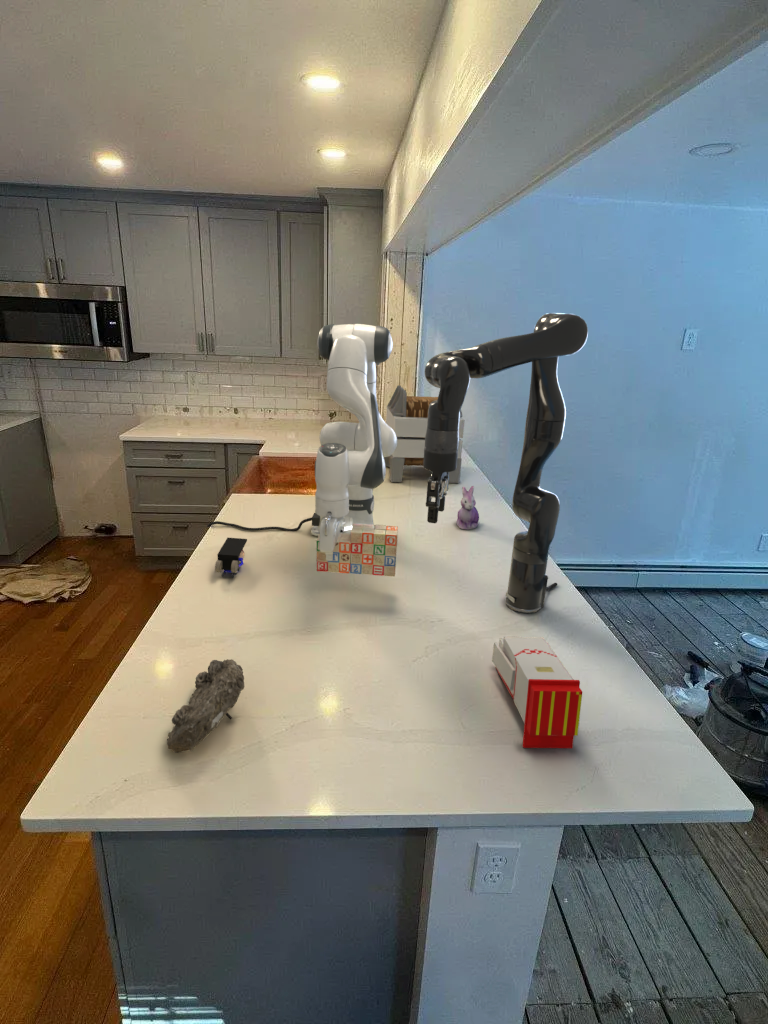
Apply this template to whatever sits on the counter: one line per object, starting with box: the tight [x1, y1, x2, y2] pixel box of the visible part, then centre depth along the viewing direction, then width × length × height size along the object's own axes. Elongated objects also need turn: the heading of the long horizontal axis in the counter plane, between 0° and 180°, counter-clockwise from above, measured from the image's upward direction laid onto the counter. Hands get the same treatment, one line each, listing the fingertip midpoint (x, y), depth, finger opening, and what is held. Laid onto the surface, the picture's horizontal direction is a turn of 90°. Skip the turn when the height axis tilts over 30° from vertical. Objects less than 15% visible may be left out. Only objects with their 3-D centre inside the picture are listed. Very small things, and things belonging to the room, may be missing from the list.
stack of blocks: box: [315, 524, 399, 577], centre depth 153 cm, size 21×6×12 cm, turn 87°
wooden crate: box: [384, 384, 465, 484], centre depth 268 cm, size 34×33×41 cm
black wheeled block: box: [214, 537, 248, 578], centre depth 166 cm, size 7×8×15 cm
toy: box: [491, 636, 583, 749], centre depth 115 cm, size 12×13×30 cm
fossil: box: [166, 658, 245, 754], centre depth 106 cm, size 22×10×15 cm
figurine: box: [456, 485, 480, 530], centre depth 208 cm, size 9×10×15 cm
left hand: (331, 553), depth 154 cm, fingers closed on stack of blocks, 6 cm apart
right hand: (435, 516), depth 131 cm, fingers open, 8 cm apart
